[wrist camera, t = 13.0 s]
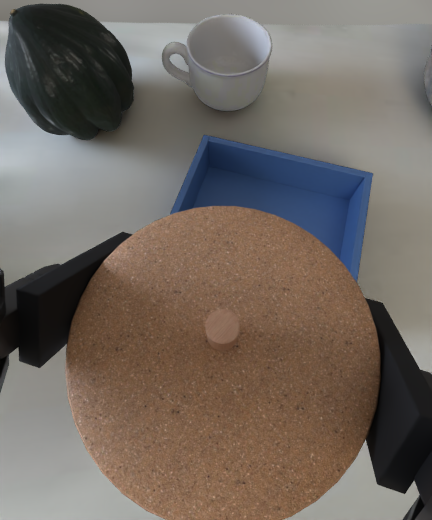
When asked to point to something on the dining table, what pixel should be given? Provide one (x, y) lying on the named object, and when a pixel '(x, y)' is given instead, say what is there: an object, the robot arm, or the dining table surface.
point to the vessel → (428, 78)
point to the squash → (67, 70)
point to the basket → (283, 192)
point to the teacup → (223, 60)
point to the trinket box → (223, 366)
